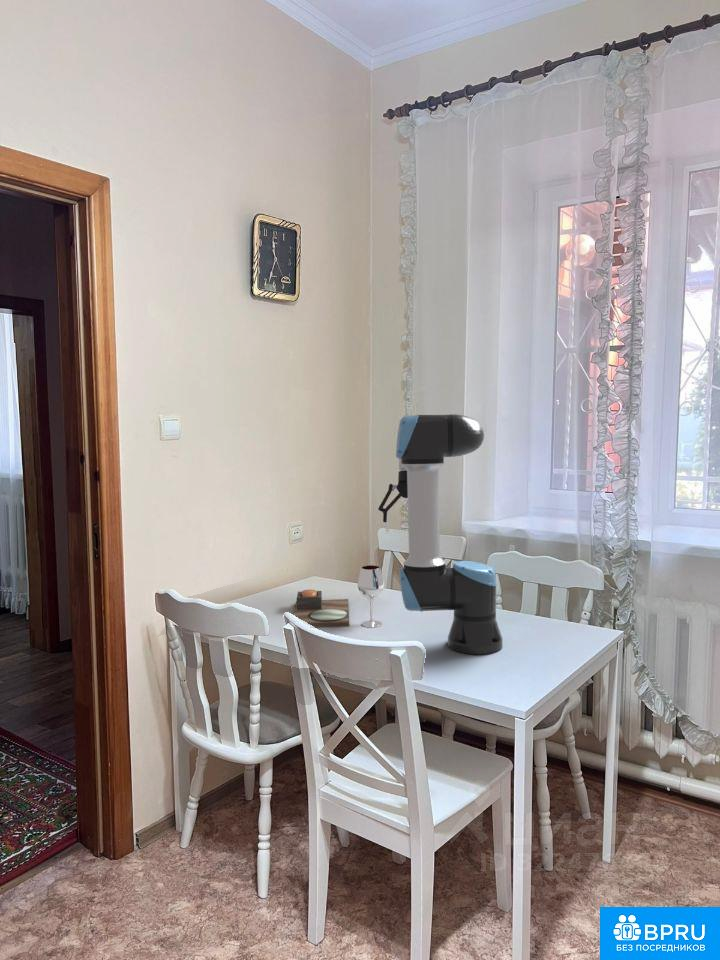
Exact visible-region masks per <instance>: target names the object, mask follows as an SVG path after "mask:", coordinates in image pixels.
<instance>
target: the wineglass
mask: <svg viewBox="0 0 720 960" xmlns="http://www.w3.org/2000/svg"><path fill="white" fill-rule="evenodd" d="M357 579H358V581H357V588H358V591H359V592H360V594H361V595H363V596H364V597H365V598H366V599H367V600H368V601H369V604H370V605H369V608H370V609H369V610H370V613H369V614H370V618H369V619H370V620H366V621H363V622H361V625H362V626H363V627H365V628H372V629H373V628H377V627H381V626H383V622H382V621H379V620H374V609H373V607H374V606H373V605H374V601H375V599H376V598H378V596H380V595H381V594H382V593H383V591H384V588H385V581H384V577H383V573H382V570H381V567H380V566H378V565H371V564H370V565H364V566H363V565H362V566H361V568H360V571H359V575H358V578H357Z"/></svg>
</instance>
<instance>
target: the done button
mask: <svg viewBox="0 0 720 960" xmlns="http://www.w3.org/2000/svg"><path fill="white" fill-rule="evenodd" d="M317 591H318V590H316V589H304V590H301V592H302V597H316V596H317Z"/></svg>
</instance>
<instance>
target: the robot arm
mask: <svg viewBox="0 0 720 960" xmlns="http://www.w3.org/2000/svg"><path fill="white" fill-rule="evenodd" d="M484 438H485V433H484V429H483V427H482V425H481V424H480V423H479V422H478V420H475V419H474V418H472V417H468V416H466V415H462V414H457V413H456V414H454V413H453V414H415V415H405V416H403V417H401V418H400V420H399V424H398V430H397V439H396V450H395V451H396V452H395V457H396V458H397V459H398V470H399V471H398V479H397V480H398V481H397V485H396V484H392V483H389V484H388V490H387V492H386V494H385V496H384V497H383V499H382V501H381V503H380V504H379V506H378V511H380V512H382V521H383V523H385V533H389V530H390V529H389V528H390V527H389V526H390V512H389V511H390V509H391V508H392V507H393V506H394V505H395V504H396V503H397V502H398V501H399V499H401V497H402V498H403V499H407V520H408V521H407V525H408V527H407V528H408V533H407V534H408V557H407V559H405V561H403V568H400V569H398V578H399V583H400V590H401V591H400V592H401V595H402V596H401V598H402V603H403V606H404V608H405V609H406V610H407V611H411V612H421V613H422V612H427V611H428V612H432V611H434V612H435V611H436V612H437V611H453V618H452V619H453V620H452V623H451V625H450V629H449V633H448V635H447V646H448V648H450V649H451V650H452V651H454V652H458V653H462V654H468V655H488V654H493V653H496V652H499V651H500V650H502V648H503V636H502V633H501V631H500V627H499V624H498V621H497V595H496V594H497V580H496V572H495V570H494V568H493V567H491V566H489V565H488V564H486V563H480V562H476V561H471V560H470V561H468V560H467V561H466V560H459V561H455V562H453V565H452V567H446V561H445V560H444V558H442V557H441V551H440V547H441V545H440V544H441V542H440V538H441V537H440V496H439V495H440V494H439V493H440V492H439V491H440V490H439V488H440V487H439V470H440V469H441V468H442V466H444V463H445V462H444V460H445V458H451V457H462V456H465V455H469V454H471V453H474V452H476V451H477V450H478V449H479V448H480V447H481V445H482V444H483V442H484ZM395 489H396V490H397V491H398V494H397V495H396V496H395V498H393V499H392V500H391V502H390V503H389V504H388V505H387V506H386V507H385V508H384V506H385V504H386V503H387V502H388V500H389V497H390V496H391V494H392V492H394V491H395Z"/></svg>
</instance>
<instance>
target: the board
mask: <svg viewBox="0 0 720 960" xmlns="http://www.w3.org/2000/svg"><path fill="white" fill-rule="evenodd" d="M316 591H317V596H316V597H302V591H297V595H296V600H295V604H294V609H293V612H292V615H293V614H294V615H295V616H296V617H298V618H299V619H301V620H303V621H305V622H307V623H308V624H310V625H312V626H314V627H313V628H333V627H350V609H349V607H350V606H349V599H348V598H340V599H339V598H338V599H336V598H335V599H323V597H322V596H323V591H322V590H316Z"/></svg>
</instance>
